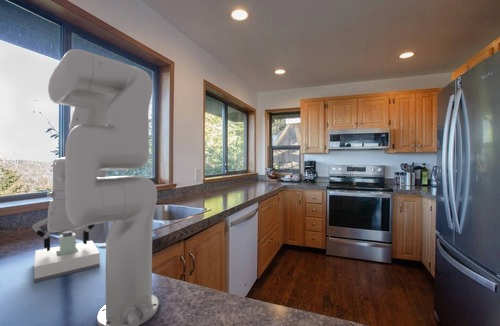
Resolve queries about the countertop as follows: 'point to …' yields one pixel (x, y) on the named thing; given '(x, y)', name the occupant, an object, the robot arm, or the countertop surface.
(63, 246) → the pale green block
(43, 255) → the block
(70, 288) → the countertop surface
